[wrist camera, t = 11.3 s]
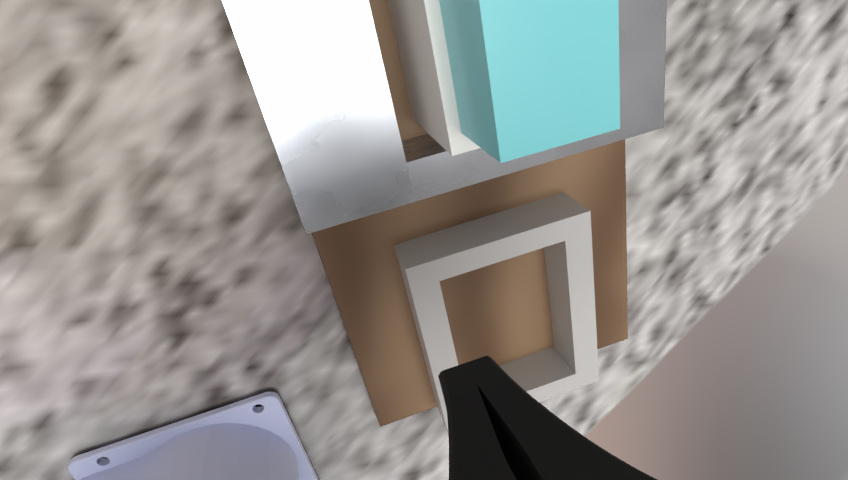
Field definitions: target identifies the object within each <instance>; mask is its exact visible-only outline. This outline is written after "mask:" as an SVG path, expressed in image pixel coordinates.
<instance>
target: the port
mask: <svg viewBox="0 0 848 480" xmlns="http://www.w3.org/2000/svg"><path fill="white" fill-rule="evenodd" d="M222 2H223V5H224V8H225V11H226V13H227V16H228V19H229V22H230V24H231V27H232V30H233V33H234V36H235V38H236V41H237V44H238V47H239V49H240V52H241V55H242V58H243V61H244V63H245V66H246V69H247V72H248V74H249V77H250V80H251V83H252V86H253V88H254V91H255V94H256V97H257V99H258V102H259V105H260V108H261V110H262V113H263V116H264V119H265V122H266V124H267V127H268V130H269V133H270V135H271V138H272V141H273V144H274V147H275V149H276V152H277V155H278V158H279V160H280V163H281V166H282V169H283V172H284V174H285V177H286V180H287V183H288V185H289V188H290V191H291V194H292V197H293V199H294V202H295V205H296V208H297V210H298V213H299V216H300V219H301V222H302V224H303V227H304V230H305V233H306V234H309V233H312V232H316V231H319V230H322V229H326V228H329V227H332V226H336V225H339V224H342V223H346V222H349V221H352V220H356V219H359V218H363V217H366V216H369V215H373V214H376V213H379V212H383V211H386V210H389V209H393V208H396V207H399V206H403V205H406V204H409V203H413V202H416V201H419V200H423V199H426V198H429V197H433V196H436V195H439V194H443V193H446V192H449V191H453V190H456V189H460V188H463V187H466V186H470V185H473V184H476V183H480V182H483V181H486V180H490V179H493V178H496V177H500V176H503V175H506V174H510V173H513V172H516V171H520V170H523V169H526V168H530V167H533V166H536V165H540V164H543V163H546V162H550V161H553V160H557V159H560V158H563V157H567V156H570V155H573V154H577V153H580V152H583V151H587V150H590V149H593V148H597V147H600V146H603V145H607V144H610V143H613V142H617V141H620V140H623V139H627V138H630V137H633V136H637V135H640V134H643V133H647V132H650V131H654V130H657V129H660V128H664V88H665V48H666V7H667V0H618V5H619V80H620V129H617V130H613V131H610V132H606V133H603V134H600V135H596V136H593V137H589V138H586V139H582V140H579V141H576V142H572V143H569V144H565V145H562V146H558V147H555V148H551V149H548V150H545V151H541V152H538V153H534V154H531V155H527V156H524V157H520V158H517V159H514V160H510V161H507V162H503V163H500V162H499V161H497V160H496V159H495V158H493V157H492V156H491V155H489V154H488V153H487V152H486V151H484V150H483V149H482V148H479V149H475V150H472V151H468V152H465V153H461V154H457V155H454V156H452V155H450V154H449V153H448V152H447V151H446V150H445V149H444V148H443V147H442V146H441V145H440V144H439V143H438V142H437V141H436V140H435V139H433V138H432V137H431V136H430V135H429V134H425V135H421V136H418V137H414V138H411V139H407V140H404V141H401V137H400V133H399V129H398V124H397V120H396V116H395V111H394V107H393V103H392V99H391V94H390V90H389V86H388V81H387V77H386V73H385V69H384V64H383V60H382V56H381V51H380V47H379V43H378V39H377V34H376V30H375V26H374V21H373V17H372V13H371V9H370V4H369V0H222Z"/></svg>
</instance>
